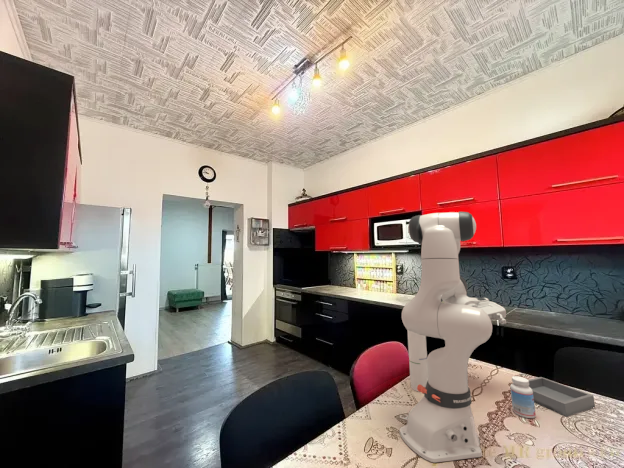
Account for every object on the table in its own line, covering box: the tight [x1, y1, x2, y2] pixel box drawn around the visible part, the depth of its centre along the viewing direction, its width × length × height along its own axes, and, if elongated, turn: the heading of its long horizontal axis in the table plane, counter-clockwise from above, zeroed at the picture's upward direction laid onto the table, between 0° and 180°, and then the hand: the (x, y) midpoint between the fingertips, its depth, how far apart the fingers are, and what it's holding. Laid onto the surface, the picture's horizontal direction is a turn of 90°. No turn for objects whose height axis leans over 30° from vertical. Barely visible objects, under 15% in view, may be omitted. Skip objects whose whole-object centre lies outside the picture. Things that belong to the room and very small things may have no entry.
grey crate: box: [528, 376, 596, 418], centre depth 95 cm, size 16×16×4 cm
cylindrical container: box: [406, 329, 428, 393], centre depth 107 cm, size 7×7×25 cm
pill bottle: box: [509, 375, 536, 419], centre depth 87 cm, size 6×6×11 cm
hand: (492, 325), depth 97 cm, fingers open, 8 cm apart
